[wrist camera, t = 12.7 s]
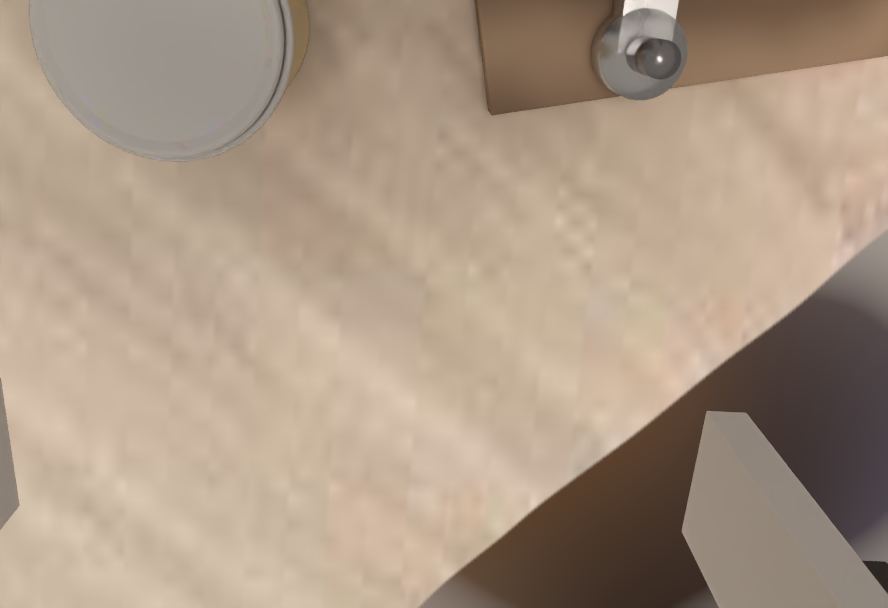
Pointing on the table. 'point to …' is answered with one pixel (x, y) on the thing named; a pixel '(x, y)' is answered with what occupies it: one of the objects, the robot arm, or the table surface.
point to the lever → (640, 48)
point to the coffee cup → (170, 68)
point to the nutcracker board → (707, 33)
